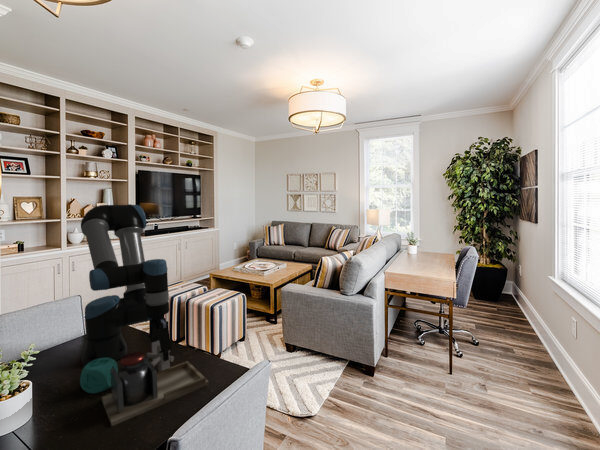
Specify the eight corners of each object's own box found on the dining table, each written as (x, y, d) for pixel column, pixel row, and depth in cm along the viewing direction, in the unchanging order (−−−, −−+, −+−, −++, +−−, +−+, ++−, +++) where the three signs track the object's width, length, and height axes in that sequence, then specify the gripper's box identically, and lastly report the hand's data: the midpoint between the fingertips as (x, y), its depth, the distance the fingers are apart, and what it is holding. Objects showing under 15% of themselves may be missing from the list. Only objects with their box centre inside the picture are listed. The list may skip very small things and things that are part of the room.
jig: (101, 400, 94) (101, 391, 93) (190, 366, 112) (190, 359, 112) (111, 426, 82) (111, 417, 82) (208, 384, 101) (208, 376, 101)
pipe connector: (164, 380, 105) (163, 354, 103) (139, 376, 106) (137, 350, 105) (180, 363, 114) (180, 339, 113) (157, 359, 116) (156, 335, 114)
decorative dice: (107, 392, 98) (106, 368, 97) (80, 395, 96) (78, 370, 96) (118, 378, 106) (117, 356, 105) (93, 380, 104) (92, 358, 104)
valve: (112, 400, 93) (109, 357, 92) (148, 386, 100) (146, 346, 99) (119, 417, 86) (116, 370, 85) (158, 401, 93) (155, 357, 92)
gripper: (137, 299, 114) (141, 357, 115) (155, 312, 98) (159, 379, 99) (158, 295, 119) (161, 350, 120) (179, 306, 103) (182, 371, 104)
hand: (160, 363), depth 110 cm, fingers open, 9 cm apart
